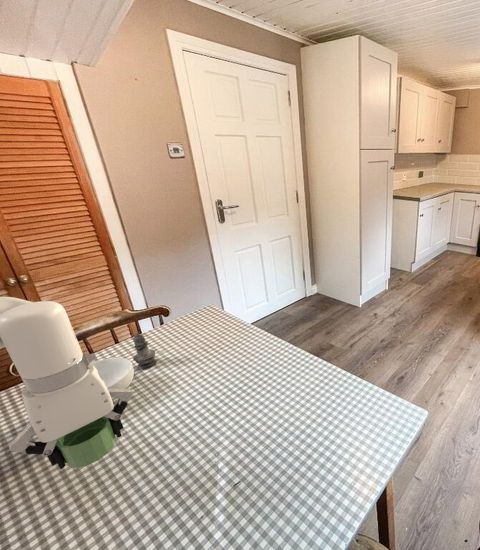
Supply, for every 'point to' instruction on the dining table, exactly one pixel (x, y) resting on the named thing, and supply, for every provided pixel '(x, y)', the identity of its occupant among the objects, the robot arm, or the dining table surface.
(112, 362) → the cereal bowl
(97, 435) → the green bowl
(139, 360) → the grey tall carved piece
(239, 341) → the dining table surface
